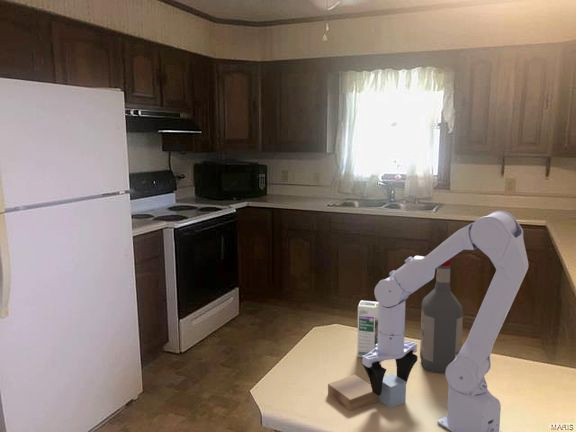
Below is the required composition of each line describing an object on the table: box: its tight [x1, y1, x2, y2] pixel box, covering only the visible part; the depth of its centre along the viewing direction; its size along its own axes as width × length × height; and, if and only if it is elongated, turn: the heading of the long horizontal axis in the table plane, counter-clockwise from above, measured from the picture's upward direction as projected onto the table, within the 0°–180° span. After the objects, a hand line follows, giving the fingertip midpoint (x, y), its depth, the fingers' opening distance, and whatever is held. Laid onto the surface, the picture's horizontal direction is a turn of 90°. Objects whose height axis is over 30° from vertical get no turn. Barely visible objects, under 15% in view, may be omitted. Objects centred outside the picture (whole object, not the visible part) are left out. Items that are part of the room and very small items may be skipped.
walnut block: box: [327, 374, 379, 412], centre depth 105 cm, size 8×8×3 cm
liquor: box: [419, 258, 464, 374], centre depth 118 cm, size 9×9×30 cm
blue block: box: [378, 373, 407, 409], centre depth 103 cm, size 4×4×5 cm
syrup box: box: [356, 299, 379, 358], centre depth 126 cm, size 6×6×14 cm
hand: (389, 388), depth 103 cm, fingers open, 7 cm apart
